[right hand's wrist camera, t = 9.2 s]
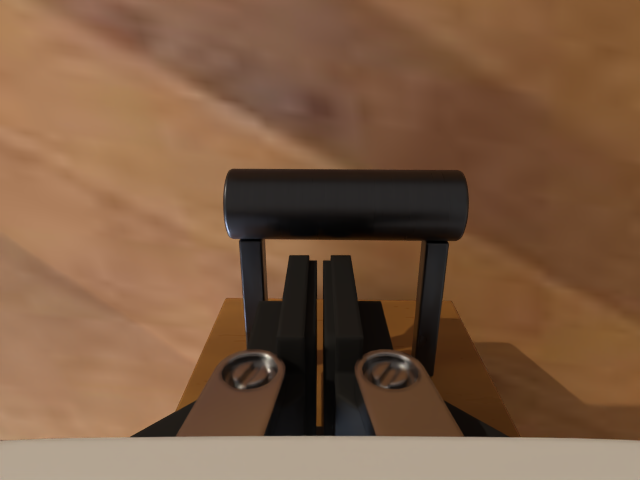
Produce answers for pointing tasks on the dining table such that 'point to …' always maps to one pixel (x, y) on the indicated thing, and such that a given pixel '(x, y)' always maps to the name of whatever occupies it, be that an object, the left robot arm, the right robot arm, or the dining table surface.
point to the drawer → (358, 224)
